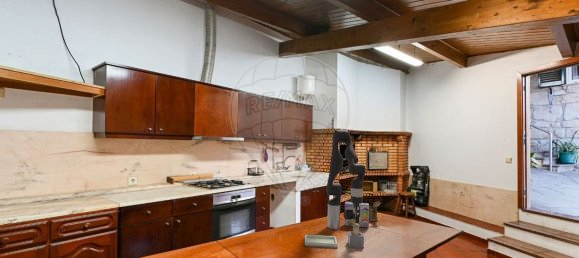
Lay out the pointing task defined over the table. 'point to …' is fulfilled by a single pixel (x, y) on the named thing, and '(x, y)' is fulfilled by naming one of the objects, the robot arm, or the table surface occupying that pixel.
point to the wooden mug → (373, 211)
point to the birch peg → (355, 229)
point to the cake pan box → (363, 214)
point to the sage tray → (321, 241)
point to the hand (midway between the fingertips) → (356, 221)
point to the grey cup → (355, 240)
